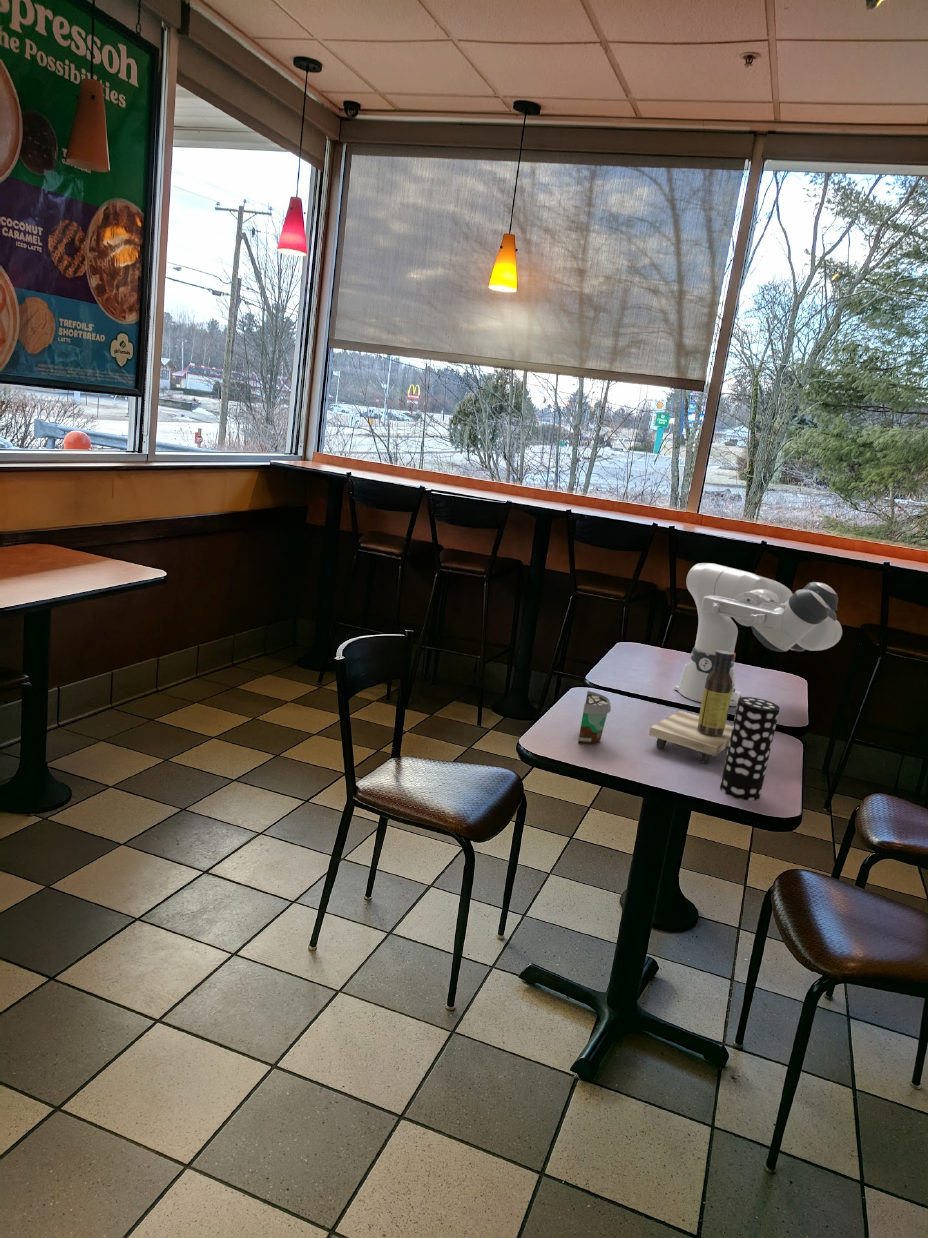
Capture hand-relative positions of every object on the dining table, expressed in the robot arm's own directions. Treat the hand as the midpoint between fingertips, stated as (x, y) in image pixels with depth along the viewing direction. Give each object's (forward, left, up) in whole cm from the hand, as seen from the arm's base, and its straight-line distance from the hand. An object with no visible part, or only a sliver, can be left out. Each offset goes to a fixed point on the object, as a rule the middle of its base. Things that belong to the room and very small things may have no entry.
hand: (733, 614), depth 212 cm
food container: (+29, -19, -32) cm, 47 cm away
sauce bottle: (+13, +3, -27) cm, 30 cm away
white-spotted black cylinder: (+31, +17, -32) cm, 48 cm away
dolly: (+12, 0, -32) cm, 34 cm away
